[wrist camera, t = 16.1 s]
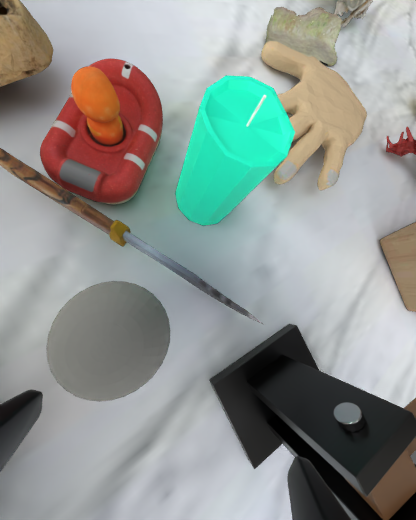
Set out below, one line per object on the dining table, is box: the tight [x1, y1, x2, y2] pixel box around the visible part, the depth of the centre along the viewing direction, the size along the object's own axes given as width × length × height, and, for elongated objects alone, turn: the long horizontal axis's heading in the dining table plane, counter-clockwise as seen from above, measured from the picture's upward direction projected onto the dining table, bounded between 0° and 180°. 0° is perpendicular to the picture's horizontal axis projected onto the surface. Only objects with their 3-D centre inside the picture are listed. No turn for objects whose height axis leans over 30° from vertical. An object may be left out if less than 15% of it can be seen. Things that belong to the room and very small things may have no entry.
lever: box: [344, 398, 416, 520], centre depth 12 cm, size 9×5×2 cm, turn 118°
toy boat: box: [40, 59, 163, 204], centre depth 17 cm, size 8×12×8 cm, turn 163°
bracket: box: [209, 324, 416, 520], centre depth 15 cm, size 10×8×12 cm
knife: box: [0, 148, 263, 324], centre depth 17 cm, size 25×1×5 cm, turn 59°
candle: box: [175, 76, 295, 226], centre depth 16 cm, size 6×6×12 cm
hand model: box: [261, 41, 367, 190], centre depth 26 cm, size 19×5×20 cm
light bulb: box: [47, 281, 170, 401], centre depth 14 cm, size 6×6×10 cm
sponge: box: [266, 7, 342, 66], centre depth 28 cm, size 12×5×4 cm
